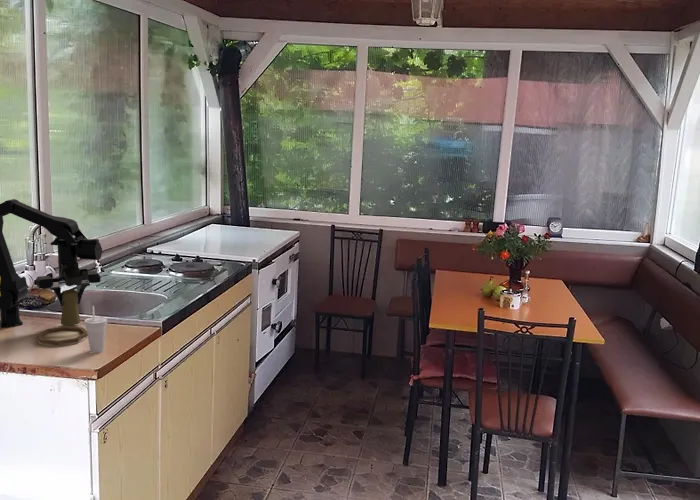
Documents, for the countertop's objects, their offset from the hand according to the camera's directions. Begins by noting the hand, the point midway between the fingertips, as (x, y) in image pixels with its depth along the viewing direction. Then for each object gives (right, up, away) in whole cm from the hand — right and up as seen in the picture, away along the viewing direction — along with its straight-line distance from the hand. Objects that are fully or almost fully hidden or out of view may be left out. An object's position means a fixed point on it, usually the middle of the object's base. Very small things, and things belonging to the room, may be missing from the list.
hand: (69, 304), depth 211 cm
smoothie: (+16, -12, -19) cm, 28 cm away
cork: (0, -6, +1) cm, 6 cm away
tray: (+2, -10, -10) cm, 14 cm away
